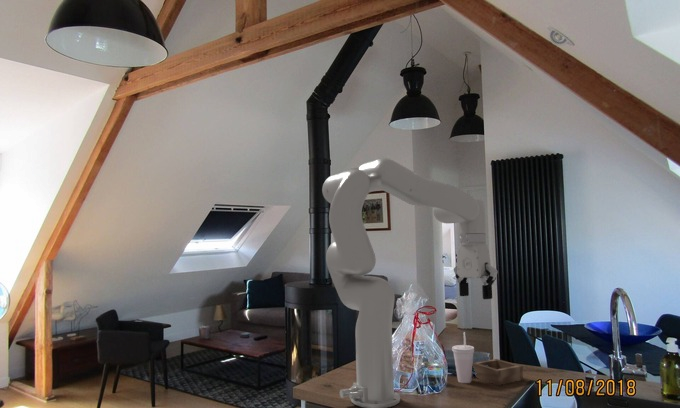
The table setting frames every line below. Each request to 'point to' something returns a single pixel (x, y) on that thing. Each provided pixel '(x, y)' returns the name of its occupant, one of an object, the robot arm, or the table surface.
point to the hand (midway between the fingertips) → (475, 297)
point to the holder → (498, 371)
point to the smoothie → (463, 361)
